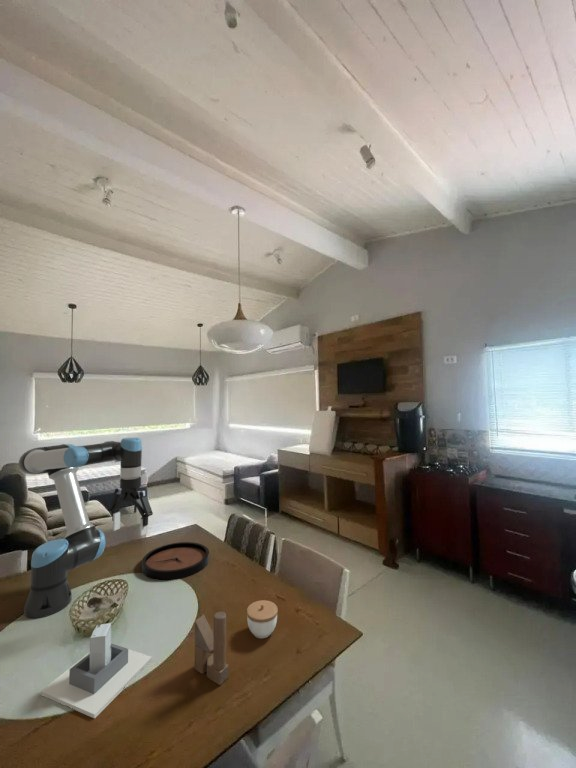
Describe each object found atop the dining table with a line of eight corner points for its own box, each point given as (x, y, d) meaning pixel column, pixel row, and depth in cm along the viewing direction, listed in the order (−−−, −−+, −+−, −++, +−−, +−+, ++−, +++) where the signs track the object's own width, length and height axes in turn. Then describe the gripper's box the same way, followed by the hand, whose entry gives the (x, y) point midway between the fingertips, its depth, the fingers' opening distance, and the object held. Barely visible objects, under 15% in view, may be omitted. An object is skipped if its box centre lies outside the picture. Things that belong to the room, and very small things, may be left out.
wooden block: (203, 661, 102) (203, 601, 103) (228, 677, 96) (229, 613, 97) (193, 669, 99) (194, 607, 100) (219, 686, 93) (220, 620, 94)
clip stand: (40, 694, 91) (41, 675, 91) (103, 644, 110) (103, 628, 110) (94, 718, 84) (95, 698, 84) (151, 660, 103) (152, 643, 103)
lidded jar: (273, 645, 109) (273, 616, 109) (242, 640, 111) (242, 612, 111) (280, 624, 119) (280, 597, 120) (252, 620, 121) (252, 593, 122)
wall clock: (217, 543, 178) (194, 574, 147) (217, 551, 177) (194, 583, 146) (162, 540, 181) (128, 569, 150) (162, 548, 181) (127, 579, 150)
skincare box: (105, 680, 94) (106, 636, 95) (88, 683, 93) (89, 638, 94) (111, 663, 100) (112, 622, 101) (95, 666, 99) (96, 624, 100)
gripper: (162, 477, 131) (161, 532, 130) (114, 472, 139) (113, 524, 138) (148, 482, 124) (147, 540, 123) (99, 476, 132) (97, 531, 131)
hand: (129, 531), depth 131 cm, fingers open, 13 cm apart
